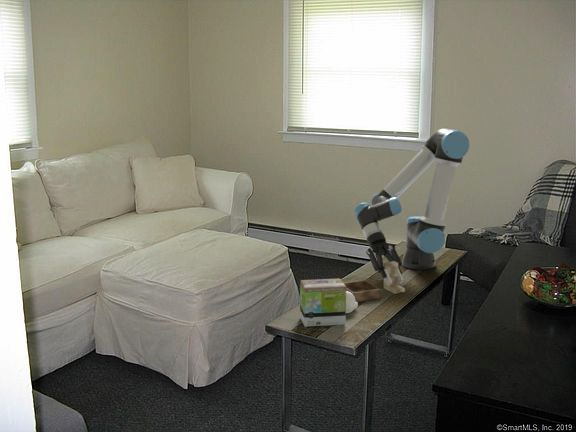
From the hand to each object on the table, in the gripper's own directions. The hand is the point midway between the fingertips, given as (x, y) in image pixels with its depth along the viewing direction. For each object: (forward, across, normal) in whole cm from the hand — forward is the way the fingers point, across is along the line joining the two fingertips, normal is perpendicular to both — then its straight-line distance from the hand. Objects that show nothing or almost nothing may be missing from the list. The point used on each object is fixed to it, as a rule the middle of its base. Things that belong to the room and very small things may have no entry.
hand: (395, 283), depth 269 cm
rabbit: (+10, +33, +4) cm, 34 cm away
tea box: (+14, +43, +9) cm, 46 cm away
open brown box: (+1, +16, -4) cm, 17 cm away
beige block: (+1, 0, -3) cm, 4 cm away
